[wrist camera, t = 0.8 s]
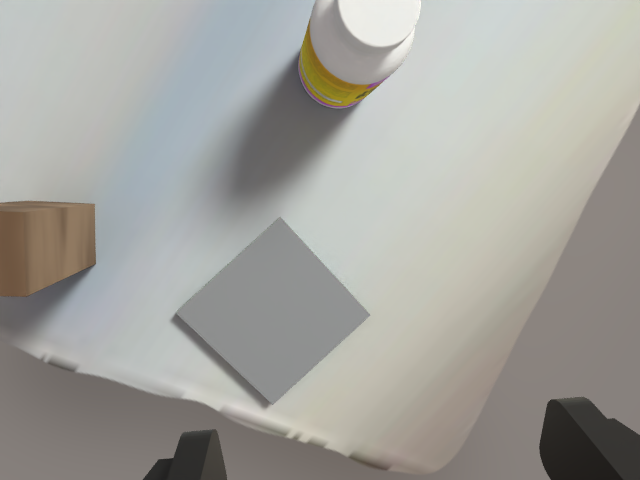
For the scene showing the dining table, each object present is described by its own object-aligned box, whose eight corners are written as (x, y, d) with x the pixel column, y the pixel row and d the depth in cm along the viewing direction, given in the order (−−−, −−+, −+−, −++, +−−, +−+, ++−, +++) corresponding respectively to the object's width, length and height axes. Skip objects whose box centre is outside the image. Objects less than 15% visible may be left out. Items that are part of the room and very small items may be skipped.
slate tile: (178, 309, 35) (175, 313, 34) (280, 216, 35) (280, 217, 34) (272, 399, 37) (272, 404, 36) (367, 311, 37) (370, 315, 36)
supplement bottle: (345, 126, 35) (390, 93, 22) (281, 77, 34) (292, 13, 21) (389, 61, 35) (461, -9, 22) (327, 10, 33) (366, -95, 21)
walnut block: (30, 262, 33) (-70, 295, 23) (28, 200, 32) (-75, 208, 22) (95, 263, 34) (26, 296, 24) (94, 203, 33) (22, 212, 23)
